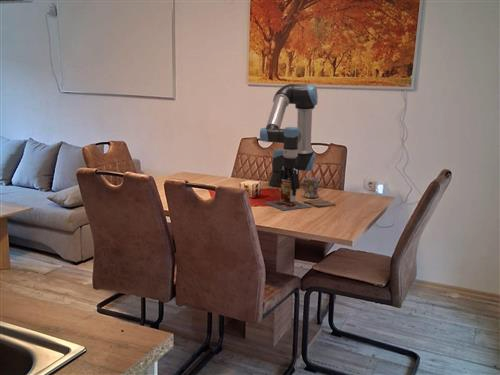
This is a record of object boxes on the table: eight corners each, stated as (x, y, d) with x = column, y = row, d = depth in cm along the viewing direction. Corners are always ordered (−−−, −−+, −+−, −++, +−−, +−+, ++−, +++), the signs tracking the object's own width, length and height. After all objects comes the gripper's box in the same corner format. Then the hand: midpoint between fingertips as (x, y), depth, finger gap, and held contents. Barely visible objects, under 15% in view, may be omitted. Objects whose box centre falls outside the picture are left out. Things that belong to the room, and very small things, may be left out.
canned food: (283, 203, 244) (284, 181, 241) (278, 200, 251) (279, 178, 248) (297, 203, 246) (298, 180, 243) (292, 199, 253) (293, 177, 250)
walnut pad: (304, 202, 255) (304, 201, 255) (321, 200, 262) (321, 199, 261) (318, 207, 245) (318, 206, 245) (335, 205, 252) (335, 203, 252)
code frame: (263, 203, 251) (263, 202, 251) (290, 200, 261) (290, 199, 260) (283, 211, 236) (283, 210, 236) (311, 207, 246) (311, 206, 245)
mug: (321, 196, 272) (322, 178, 270) (315, 199, 264) (317, 181, 262) (302, 194, 278) (303, 176, 275) (296, 196, 270) (297, 178, 267)
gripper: (272, 154, 250) (270, 196, 255) (296, 160, 233) (293, 204, 238) (284, 153, 254) (282, 194, 259) (308, 159, 237) (305, 203, 241)
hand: (287, 199), depth 248 cm, fingers closed on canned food, 8 cm apart
